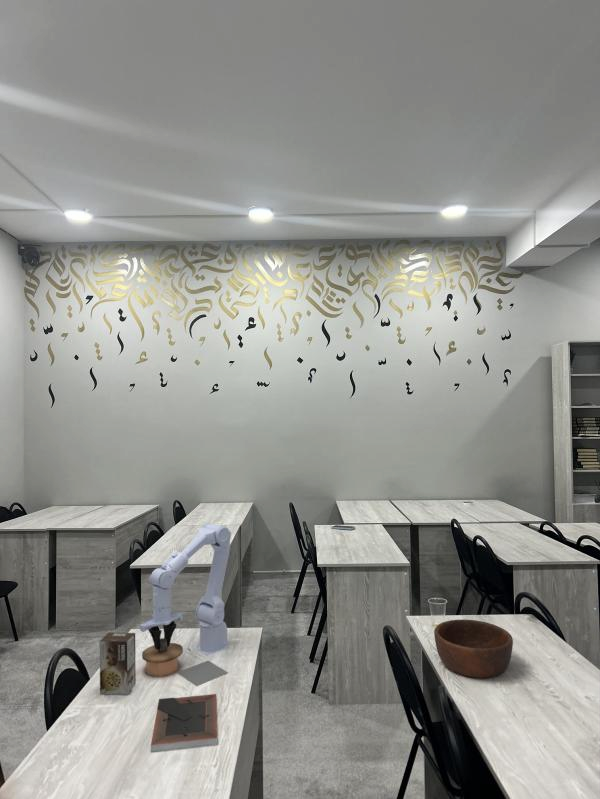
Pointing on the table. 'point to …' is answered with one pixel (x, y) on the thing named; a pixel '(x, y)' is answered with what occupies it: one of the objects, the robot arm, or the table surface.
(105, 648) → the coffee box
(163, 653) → the lid
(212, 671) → the mat
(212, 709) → the picture frame
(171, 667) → the bowl
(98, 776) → the table surface
